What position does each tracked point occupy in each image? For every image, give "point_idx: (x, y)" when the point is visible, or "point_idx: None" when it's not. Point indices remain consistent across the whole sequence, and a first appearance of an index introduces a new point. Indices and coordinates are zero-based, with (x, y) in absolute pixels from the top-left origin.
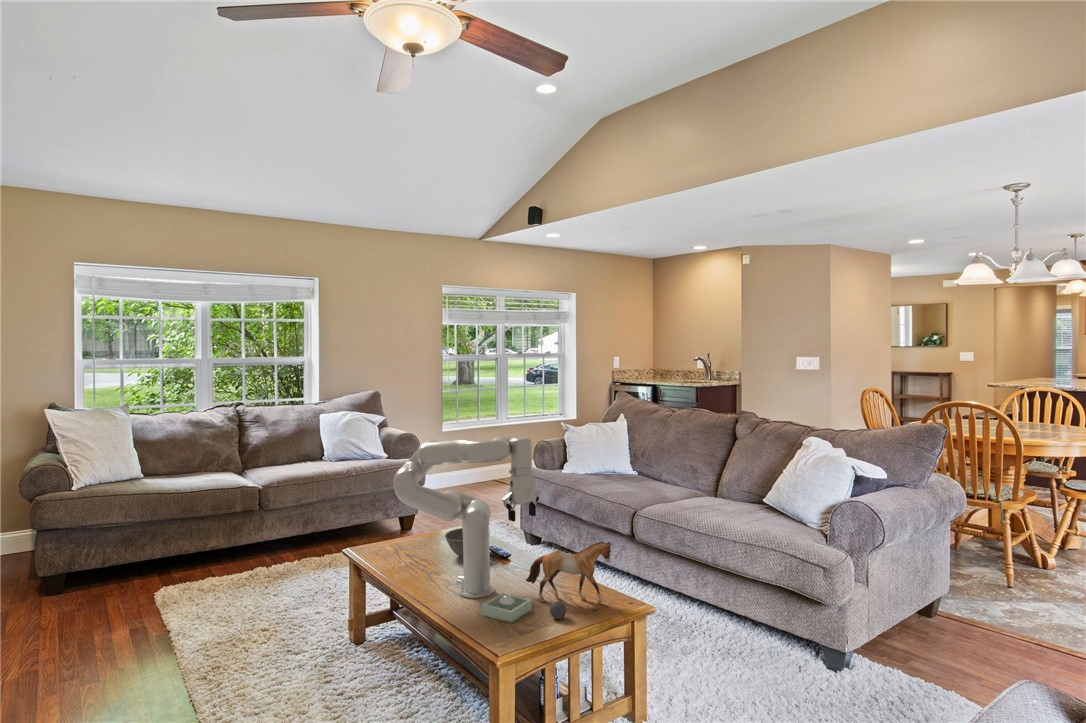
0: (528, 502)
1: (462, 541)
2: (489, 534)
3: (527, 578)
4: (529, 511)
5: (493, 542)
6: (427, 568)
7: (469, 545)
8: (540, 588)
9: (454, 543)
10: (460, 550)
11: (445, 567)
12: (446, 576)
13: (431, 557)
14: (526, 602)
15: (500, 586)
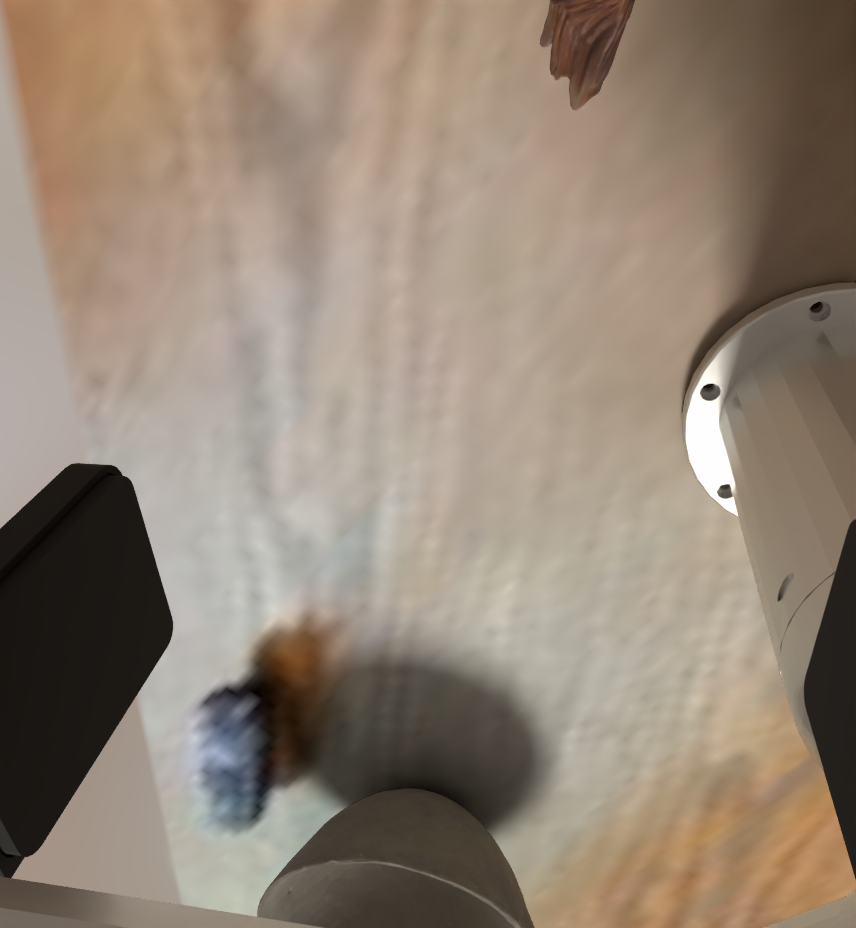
0: (139, 903)
1: (507, 910)
2: (284, 875)
3: (600, 64)
4: (128, 679)
5: (193, 846)
6: (707, 850)
7: None
8: None
9: (533, 925)
10: (504, 861)
11: (624, 802)
12: (728, 722)
13: (574, 915)
14: None
15: (609, 377)
